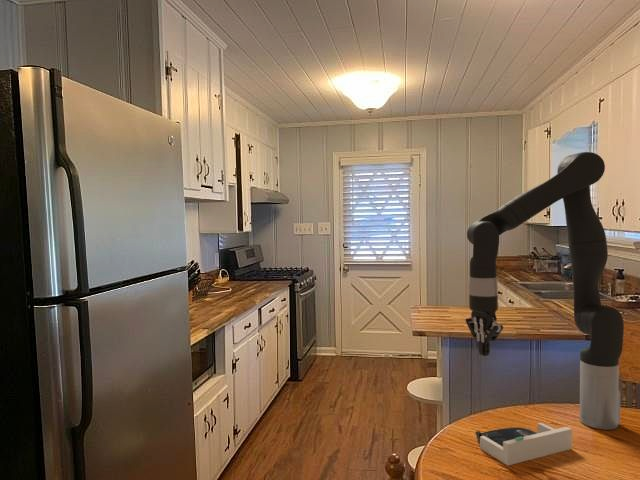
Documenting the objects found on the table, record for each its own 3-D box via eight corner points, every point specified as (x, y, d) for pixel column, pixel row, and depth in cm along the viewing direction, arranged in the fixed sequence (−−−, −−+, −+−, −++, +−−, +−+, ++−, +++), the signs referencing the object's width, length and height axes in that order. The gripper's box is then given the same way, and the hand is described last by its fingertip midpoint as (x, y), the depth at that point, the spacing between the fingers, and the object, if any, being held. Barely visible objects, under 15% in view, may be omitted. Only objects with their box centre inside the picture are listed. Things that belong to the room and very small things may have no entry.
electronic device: (499, 464, 114) (551, 446, 118) (495, 440, 114) (546, 424, 118) (477, 451, 123) (526, 435, 127) (473, 429, 123) (521, 415, 127)
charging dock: (541, 433, 126) (541, 413, 126) (571, 448, 118) (571, 427, 117) (479, 448, 118) (479, 426, 118) (507, 465, 110) (507, 442, 110)
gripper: (511, 295, 127) (512, 359, 128) (477, 289, 139) (478, 347, 140) (489, 297, 124) (490, 363, 125) (456, 291, 136) (457, 351, 137)
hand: (484, 354), depth 132 cm, fingers closed
